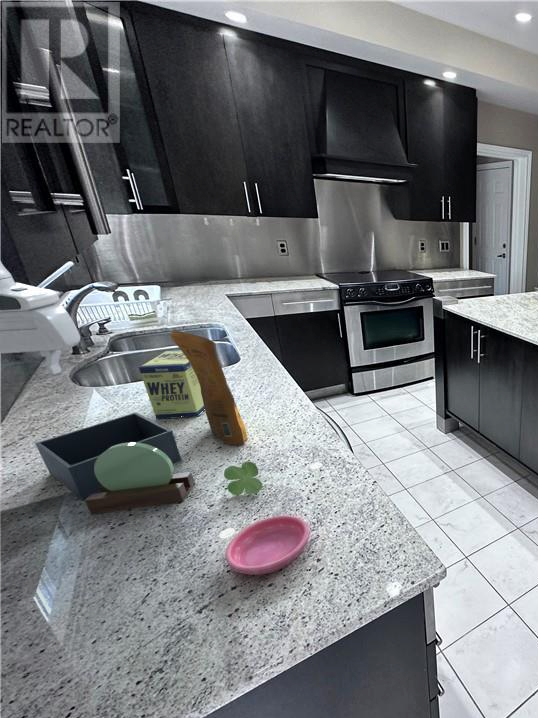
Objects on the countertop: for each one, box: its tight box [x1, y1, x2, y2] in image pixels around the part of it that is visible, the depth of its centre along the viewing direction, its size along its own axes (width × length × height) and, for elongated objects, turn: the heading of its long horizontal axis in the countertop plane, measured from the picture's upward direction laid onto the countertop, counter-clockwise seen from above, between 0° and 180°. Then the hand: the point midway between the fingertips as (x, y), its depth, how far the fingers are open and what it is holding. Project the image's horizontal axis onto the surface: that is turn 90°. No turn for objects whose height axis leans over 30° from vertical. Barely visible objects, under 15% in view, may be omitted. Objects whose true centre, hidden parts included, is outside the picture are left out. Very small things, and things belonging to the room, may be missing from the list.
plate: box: [94, 442, 175, 491], centre depth 79 cm, size 1×12×12 cm, turn 107°
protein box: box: [138, 348, 205, 420], centre depth 116 cm, size 10×16×16 cm
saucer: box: [225, 514, 310, 576], centre depth 70 cm, size 12×12×3 cm
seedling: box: [223, 460, 263, 496], centre depth 87 cm, size 7×8×7 cm
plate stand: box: [84, 471, 196, 515], centre depth 81 cm, size 6×15×3 cm, turn 106°
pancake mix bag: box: [169, 329, 248, 446], centre depth 100 cm, size 7×19×28 cm, turn 54°
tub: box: [34, 411, 182, 502], centre depth 90 cm, size 17×17×8 cm
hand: (22, 375), depth 72 cm, fingers open, 8 cm apart
